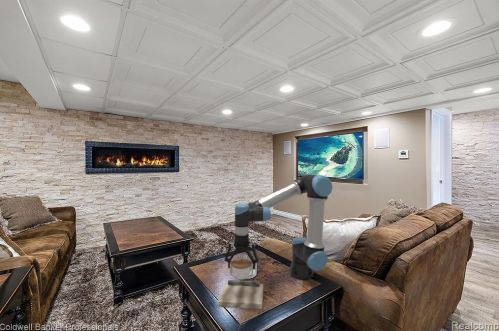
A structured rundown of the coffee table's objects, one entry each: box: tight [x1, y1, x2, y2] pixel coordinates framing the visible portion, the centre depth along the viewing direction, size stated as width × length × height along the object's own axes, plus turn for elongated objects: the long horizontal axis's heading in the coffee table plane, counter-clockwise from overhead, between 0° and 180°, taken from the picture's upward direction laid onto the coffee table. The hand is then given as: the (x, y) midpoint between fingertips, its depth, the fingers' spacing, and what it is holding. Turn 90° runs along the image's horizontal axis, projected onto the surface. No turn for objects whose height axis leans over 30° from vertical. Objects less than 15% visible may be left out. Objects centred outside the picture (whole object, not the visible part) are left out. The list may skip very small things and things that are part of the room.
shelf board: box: [217, 279, 264, 310], centre depth 120 cm, size 22×18×4 cm
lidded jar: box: [231, 257, 252, 281], centre depth 120 cm, size 11×11×9 cm
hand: (241, 274), depth 120 cm, fingers closed on lidded jar, 11 cm apart
